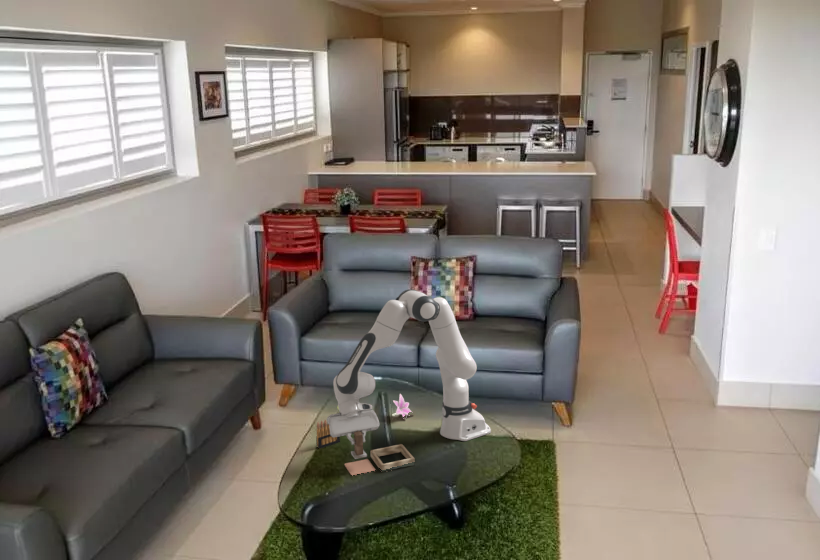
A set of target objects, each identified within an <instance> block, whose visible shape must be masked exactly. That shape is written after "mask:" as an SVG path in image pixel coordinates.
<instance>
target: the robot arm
mask: <svg viewBox="0 0 820 560" xmlns="http://www.w3.org/2000/svg"><path fill="white" fill-rule="evenodd" d="M410 318H412V319H414V320H417V321H419V322H424V323H425V322H428V324H429V326H430V329H431V332H432V333H431V334H432V335H433V336H432V337H434V341H435V344H436V345H437V347H438V348H437V349H436V352H435V359H436V361H437V363H438V367H439V372H440V377H441V381H442V392H443V394H442V395H443V397H442V405H441V407H442V408H441V410H442V421H441V427H440V430H439V434H440V435H441V436H442V437H444V438H447V439H450V440H458V441H462V442H467V441H470V440H473V439H476V438H479V437H482V436H485V435H488V434H489V435H490V433H492V428H491V427H490V425H488V423H486V420H485V418H484V416H483V415H482V414H481V413H480V412H478V411H477V410H476V409H477V407H478V405H477V404H475V402H474V403H473V402H472V401H470V400H469V399H470V397H469V396H470V395H469V390H470V389H469V388H470V387H469V383H468V380H469V379H470V380H471V379H472V378H473V377H474V375H475V374H476V372H477V370H478V369H477V367H478V365H477V362H476V361H475V359H474V358H473V356H472V354H471V352H470V350H469V348H468V346H467V344H466V342H465V340H464V339H463V337H462V335H461V332H460V328H459V326H458V323H457V321H456V317H455V315H454V312H453V310H452V308H451V306H450V304H449V303H448V300H447V299H445V298H444V297H441V296H439V297H434V298H433V297H431V296H429V295H427V294H426V293H424V292H422V291H418V290H416V289H410V288H409V289H405V290H404V291H402V292H401V293H400V294H399V295H398V296H397V297H396V298H395V299H390V300H388V301H387V302H386V303H385V304H384V305H383V307H382V308H381V310H380V311H379V313H378V315H377V317H376V319H375V322H374V324H373V326H372V327H371V329H369V331H368V332H367V333H365V335H364V336H363V337H362V338H361V339H360V341H359V342H358V344H357V345H356V347H355V349H354V350H353V352H352V354H351V356H350V357H349V359H348V360H347V362H346V363H345V365H344V366H343V367H342V368H341V369H340V371H339V372H338V373H337V375H335V377H334V378H333V392H334V396H335V399H336V400H337V406H338V408H339V411H338V412H337V413H334V414H333V413H331V414H329V415H328V416H327V418H326V422H327V425H328V424H329V428H330V435H331V436H332V437H333V438H334V437H339V436H340V437H343V436H346V438H347V440H349V442H350V444H351V445H352V446H353V445H354V444H356V441H355V439H354V437H352V435H354V432H358V431H360V432H361V433H362V434H363V444H364V443H366V434H367V432H370V431H371V432H372V431H375V430H376V431H377V430H378V429H379V427H380V420H379V418H378V416H377V413H376V412H375V410H373V405H372V404H370V403H364V402H360V399H362V398H366V397H368V396H371V395H372V394H373V393H374V392H375V390H376V384H377V383H376V379H375V377H374V376H373V375H372V374H371V373H368V372H364V371H362V368H363V366H364V365H365V363H366V361H367V359H369V356H370V355H371V354H372V353H373V352H376V351H377V350H380V349H387V348H389V347H391V346H393V345H394V344H395V343H396V342H397V340H398V338H399V337H400V334H401V331H402V329H403V326H404V324H405V323H406V321H407V320H409V319H410ZM339 412H340V413H339Z"/></svg>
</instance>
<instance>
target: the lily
mask: <svg viewBox="0 0 820 560" xmlns="http://www.w3.org/2000/svg"><path fill="white" fill-rule="evenodd" d="M398 397H399V399H398V400H394V399H393V400H392V401H393V403H394V405H395V406H396V407H397V408H396V411H395V413H396V415H402V418H403V417H404V416H405V415H406V416H409V415H408V413H409V412H412V410H411V409H410V408H409V406H410V402H408V401H405V398H404V397H403V395H402V394H401V393H399V396H398Z"/></svg>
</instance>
